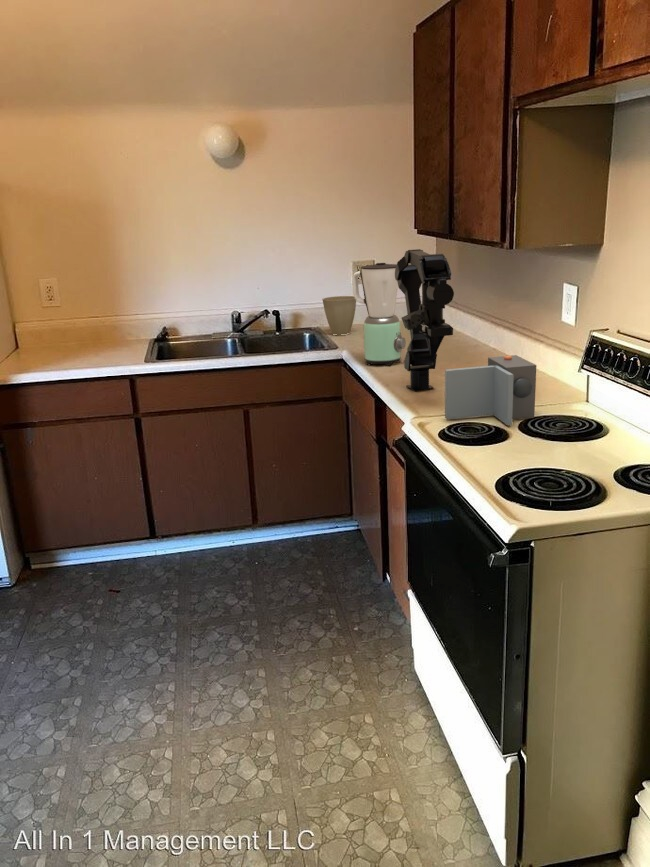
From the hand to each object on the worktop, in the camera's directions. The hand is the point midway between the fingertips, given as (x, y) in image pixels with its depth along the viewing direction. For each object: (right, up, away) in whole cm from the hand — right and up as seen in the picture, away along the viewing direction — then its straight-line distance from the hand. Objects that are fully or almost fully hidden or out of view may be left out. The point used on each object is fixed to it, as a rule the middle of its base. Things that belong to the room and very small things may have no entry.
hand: (432, 356), depth 203 cm
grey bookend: (+9, -19, -19) cm, 28 cm away
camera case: (+19, -17, -12) cm, 28 cm away
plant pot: (-23, +22, +113) cm, 117 cm away
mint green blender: (-10, +3, +54) cm, 56 cm away
